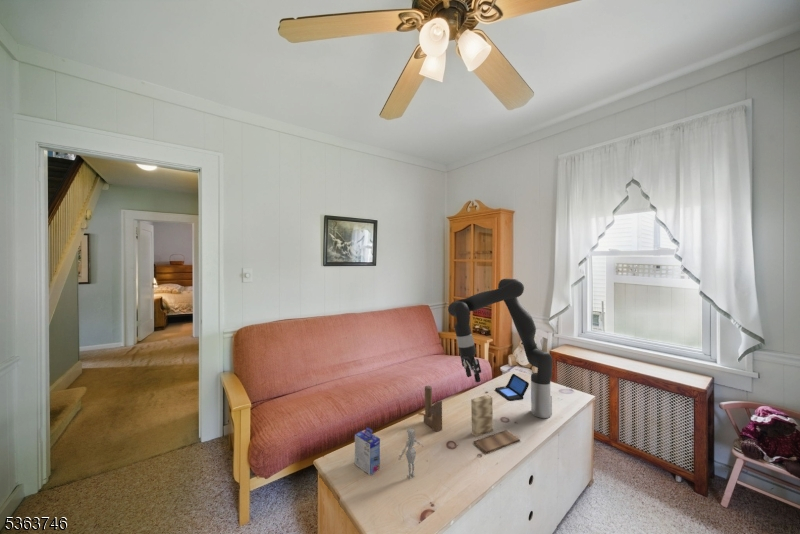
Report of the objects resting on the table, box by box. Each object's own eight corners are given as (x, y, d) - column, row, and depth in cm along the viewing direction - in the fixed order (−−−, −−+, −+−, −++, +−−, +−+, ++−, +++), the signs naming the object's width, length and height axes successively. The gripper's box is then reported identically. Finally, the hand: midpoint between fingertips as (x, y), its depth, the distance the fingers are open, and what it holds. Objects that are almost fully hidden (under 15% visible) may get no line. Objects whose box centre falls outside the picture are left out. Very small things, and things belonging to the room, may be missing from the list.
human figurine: (420, 467, 114) (419, 422, 114) (426, 472, 111) (426, 426, 111) (395, 482, 107) (394, 433, 106) (402, 488, 104) (401, 438, 103)
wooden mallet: (436, 432, 137) (435, 394, 137) (423, 421, 147) (422, 386, 146) (442, 429, 139) (442, 392, 139) (429, 419, 149) (428, 384, 148)
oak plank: (488, 427, 140) (487, 394, 140) (493, 431, 137) (492, 397, 137) (471, 433, 136) (471, 399, 136) (476, 436, 133) (475, 402, 133)
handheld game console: (494, 390, 181) (494, 375, 181) (513, 387, 185) (513, 373, 184) (509, 401, 166) (509, 385, 166) (529, 398, 169) (529, 382, 169)
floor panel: (506, 431, 137) (506, 429, 137) (519, 441, 129) (519, 439, 129) (473, 443, 129) (473, 440, 129) (486, 453, 121) (486, 451, 121)
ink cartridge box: (381, 468, 114) (380, 432, 114) (370, 476, 110) (369, 438, 110) (365, 457, 121) (364, 422, 120) (354, 464, 117) (353, 428, 116)
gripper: (480, 344, 128) (489, 381, 128) (466, 339, 142) (473, 372, 142) (465, 349, 126) (473, 386, 126) (452, 343, 140) (459, 377, 140)
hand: (473, 379), depth 134 cm, fingers open, 8 cm apart
